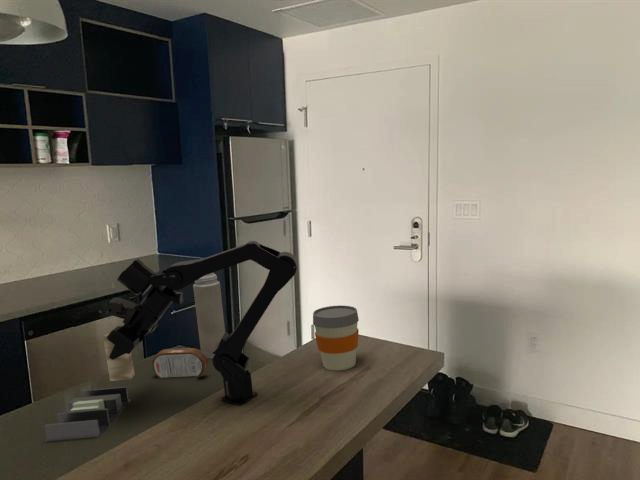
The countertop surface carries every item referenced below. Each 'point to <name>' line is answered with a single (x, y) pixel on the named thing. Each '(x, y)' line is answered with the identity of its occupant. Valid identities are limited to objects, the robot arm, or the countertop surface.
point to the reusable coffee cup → (336, 336)
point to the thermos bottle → (209, 313)
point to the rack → (88, 415)
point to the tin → (179, 363)
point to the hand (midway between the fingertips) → (113, 356)
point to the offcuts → (88, 405)
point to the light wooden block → (118, 363)
